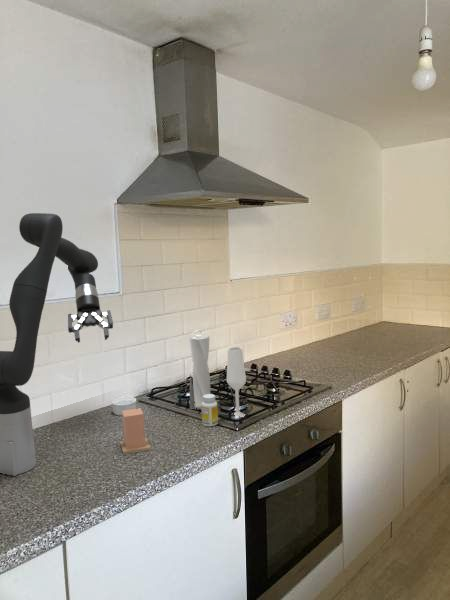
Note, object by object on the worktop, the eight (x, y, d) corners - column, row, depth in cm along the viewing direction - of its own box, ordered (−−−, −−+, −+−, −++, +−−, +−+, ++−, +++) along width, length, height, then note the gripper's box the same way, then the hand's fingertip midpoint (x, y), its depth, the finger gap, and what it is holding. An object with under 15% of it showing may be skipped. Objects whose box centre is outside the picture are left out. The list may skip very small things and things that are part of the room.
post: (150, 449, 147) (149, 424, 146) (123, 454, 144) (121, 428, 143) (146, 439, 154) (144, 415, 153) (120, 444, 152) (118, 419, 151)
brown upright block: (145, 446, 148) (143, 413, 146) (126, 449, 146) (124, 416, 145) (142, 439, 153) (140, 408, 152) (124, 442, 151) (121, 410, 150)
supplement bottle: (202, 427, 162) (201, 399, 161) (201, 421, 168) (200, 394, 167) (219, 426, 163) (217, 397, 162) (217, 420, 168) (216, 392, 167)
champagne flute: (244, 421, 166) (242, 351, 163) (225, 419, 168) (222, 350, 165) (249, 414, 172) (247, 346, 169) (231, 412, 174) (228, 346, 171)
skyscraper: (192, 401, 188) (188, 329, 184) (213, 401, 188) (209, 328, 184) (189, 409, 180) (185, 333, 176) (212, 408, 179) (208, 332, 176)
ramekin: (131, 416, 175) (130, 405, 175) (108, 416, 177) (107, 404, 177) (140, 408, 184) (139, 396, 183) (118, 407, 186) (117, 396, 185)
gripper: (65, 295, 164) (69, 335, 154) (109, 291, 168) (115, 330, 159) (65, 309, 169) (69, 348, 160) (108, 305, 174) (114, 343, 164)
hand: (92, 339), depth 159 cm, fingers open, 8 cm apart
